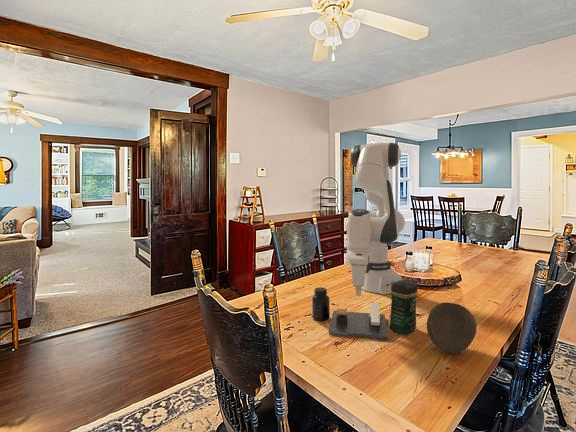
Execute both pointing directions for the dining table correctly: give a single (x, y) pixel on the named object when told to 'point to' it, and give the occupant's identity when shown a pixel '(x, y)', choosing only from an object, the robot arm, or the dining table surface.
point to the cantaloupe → (451, 327)
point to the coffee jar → (403, 306)
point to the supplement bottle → (320, 305)
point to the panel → (357, 326)
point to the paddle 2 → (375, 314)
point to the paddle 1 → (341, 311)
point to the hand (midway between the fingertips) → (358, 290)
